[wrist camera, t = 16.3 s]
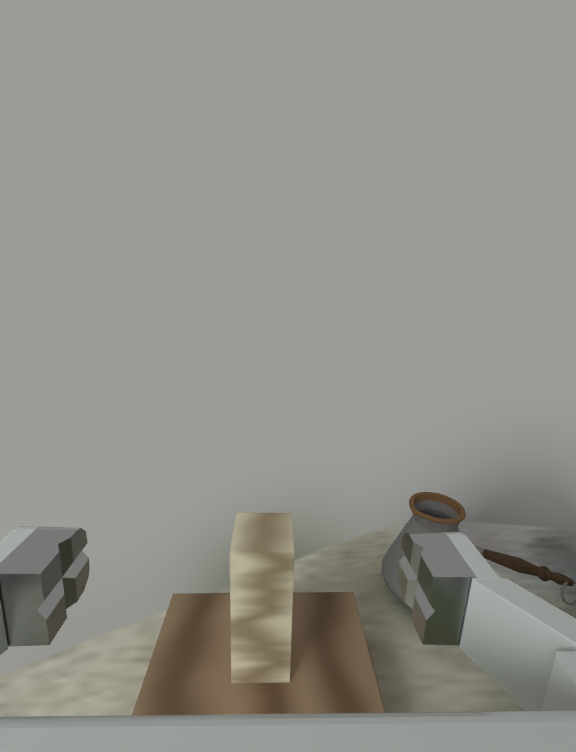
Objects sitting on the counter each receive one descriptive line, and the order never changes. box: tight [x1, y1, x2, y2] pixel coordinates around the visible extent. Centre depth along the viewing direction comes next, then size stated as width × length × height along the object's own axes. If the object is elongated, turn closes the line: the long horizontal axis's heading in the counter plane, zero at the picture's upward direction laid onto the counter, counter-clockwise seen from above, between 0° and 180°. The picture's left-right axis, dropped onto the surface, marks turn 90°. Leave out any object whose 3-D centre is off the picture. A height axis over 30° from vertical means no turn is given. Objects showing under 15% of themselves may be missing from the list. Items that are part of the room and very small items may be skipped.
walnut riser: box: [132, 592, 385, 716], centre depth 34 cm, size 20×14×5 cm
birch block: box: [230, 513, 294, 683], centre depth 32 cm, size 5×5×13 cm
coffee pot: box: [382, 492, 576, 612], centre depth 41 cm, size 21×12×15 cm, turn 21°
